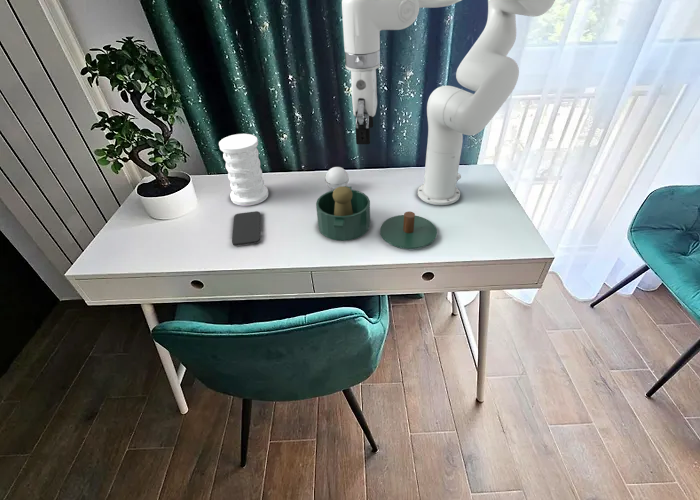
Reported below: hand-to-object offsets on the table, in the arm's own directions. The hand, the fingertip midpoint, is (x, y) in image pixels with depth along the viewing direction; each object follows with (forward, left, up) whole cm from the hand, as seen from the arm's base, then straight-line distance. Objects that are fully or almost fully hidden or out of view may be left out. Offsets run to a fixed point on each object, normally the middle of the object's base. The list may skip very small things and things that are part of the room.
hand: (365, 135), depth 97 cm
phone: (+24, -23, -25) cm, 41 cm away
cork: (+6, -3, -25) cm, 25 cm away
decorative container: (+12, -37, -25) cm, 46 cm away
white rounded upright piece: (-7, -17, -25) cm, 31 cm away
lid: (-2, +13, -24) cm, 28 cm away
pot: (+6, -3, -25) cm, 26 cm away
